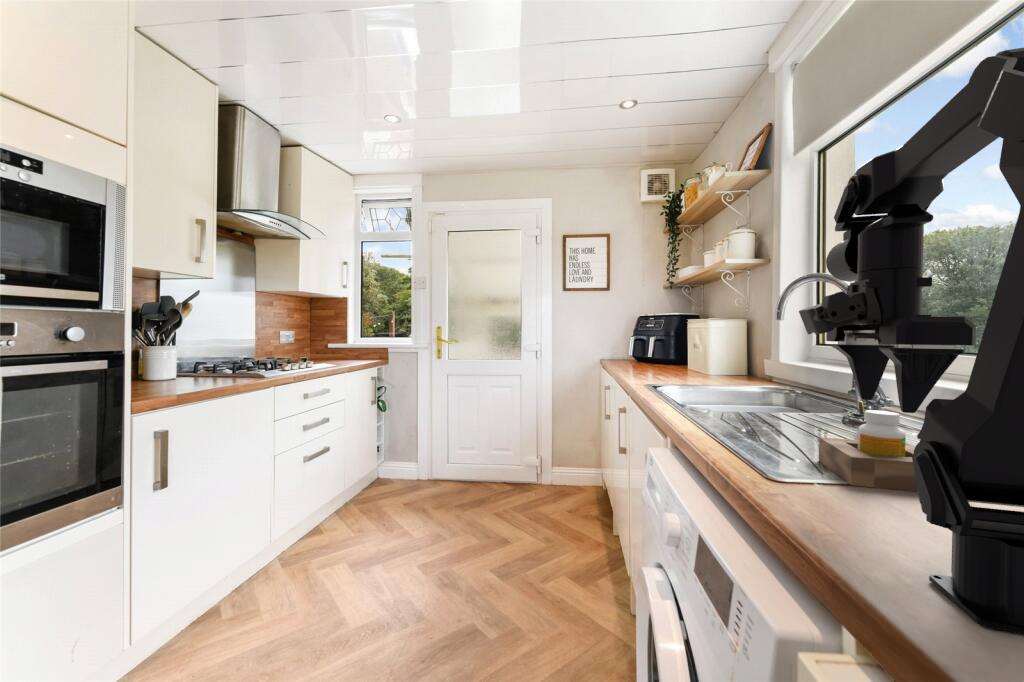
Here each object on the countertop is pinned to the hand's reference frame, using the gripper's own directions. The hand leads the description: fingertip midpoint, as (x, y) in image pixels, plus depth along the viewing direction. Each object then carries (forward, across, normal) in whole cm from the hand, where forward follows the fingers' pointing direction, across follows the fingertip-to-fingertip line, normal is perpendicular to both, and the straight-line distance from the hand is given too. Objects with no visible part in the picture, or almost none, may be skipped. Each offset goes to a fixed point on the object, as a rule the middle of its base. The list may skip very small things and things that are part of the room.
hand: (885, 405), depth 50 cm
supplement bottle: (+13, -17, +7) cm, 22 cm away
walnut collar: (+13, -17, +7) cm, 23 cm away
